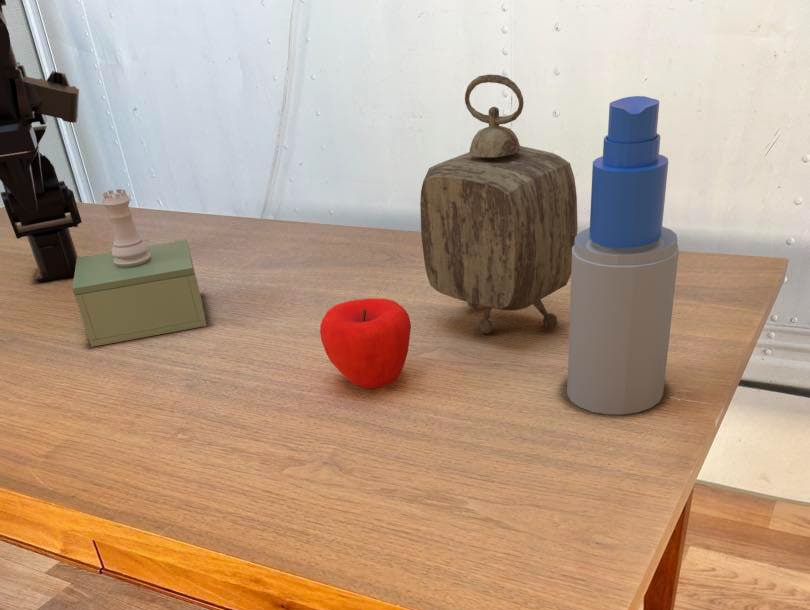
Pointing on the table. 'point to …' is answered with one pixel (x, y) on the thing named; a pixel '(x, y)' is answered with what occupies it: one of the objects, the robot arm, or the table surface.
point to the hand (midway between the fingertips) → (36, 202)
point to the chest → (142, 310)
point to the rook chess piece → (124, 231)
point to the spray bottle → (623, 271)
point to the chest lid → (132, 268)
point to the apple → (367, 340)
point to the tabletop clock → (499, 219)
